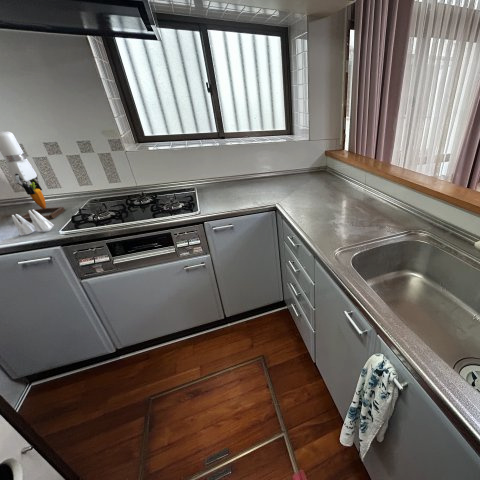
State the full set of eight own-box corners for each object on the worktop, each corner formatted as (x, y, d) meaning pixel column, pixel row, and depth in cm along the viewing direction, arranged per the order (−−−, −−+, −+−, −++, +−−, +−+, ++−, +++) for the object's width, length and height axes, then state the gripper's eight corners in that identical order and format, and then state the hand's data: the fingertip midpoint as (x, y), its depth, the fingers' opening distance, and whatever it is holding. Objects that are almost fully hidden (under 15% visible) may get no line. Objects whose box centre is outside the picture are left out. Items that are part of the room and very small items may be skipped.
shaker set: (56, 228, 128) (44, 206, 122) (51, 232, 124) (39, 210, 119) (25, 232, 125) (11, 210, 119) (19, 236, 121) (5, 214, 116)
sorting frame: (18, 222, 133) (16, 219, 132) (34, 212, 144) (32, 209, 143) (52, 219, 136) (50, 215, 135) (65, 209, 147) (63, 206, 146)
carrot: (36, 211, 145) (20, 184, 138) (41, 207, 149) (26, 181, 142) (47, 210, 147) (32, 183, 139) (52, 206, 151) (38, 180, 143)
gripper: (18, 154, 140) (36, 187, 149) (-7, 162, 126) (15, 198, 135) (35, 153, 142) (52, 186, 151) (12, 161, 128) (33, 197, 137)
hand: (35, 192), depth 143 cm, fingers closed on carrot, 5 cm apart
